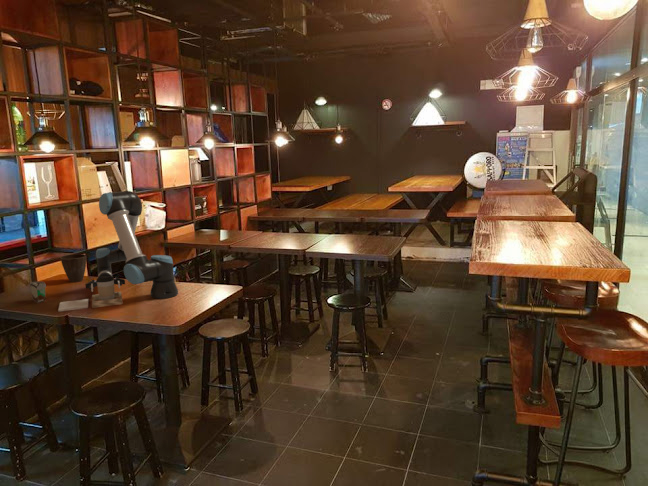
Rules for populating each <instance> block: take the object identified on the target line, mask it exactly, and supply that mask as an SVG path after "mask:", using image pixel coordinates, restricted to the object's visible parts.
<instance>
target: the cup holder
mask: <svg viewBox="0 0 648 486" xmlns="http://www.w3.org/2000/svg"><path fill="white" fill-rule="evenodd" d="M123 304H124V303H123V296H122V291H114V299H110V300H102V301H100V296H99V293H98V294H92V295H91V308H93V309H94V308H102V307H109V306H117V305H118V306H119V305H123Z"/></svg>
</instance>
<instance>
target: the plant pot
mask: <svg viewBox="0 0 648 486" xmlns="http://www.w3.org/2000/svg"><path fill="white" fill-rule="evenodd" d="M59 259H60V262H61V265H62V268H63V271H64V272H65V275H66V278H68V281H69V282H70V283H78V282H82V281H83V280H84V277H85V273H86V267H87V254H84V253H75V254H74V253H73V254H66V255H63V256H60V258H59Z"/></svg>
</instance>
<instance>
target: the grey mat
mask: <svg viewBox="0 0 648 486" xmlns="http://www.w3.org/2000/svg"><path fill="white" fill-rule="evenodd" d="M88 308H89V298H84V299H76V300H67V301H61V302H59V305H58V310H57V311H58V312H66V311H72V310H73V311H74V310H83V309H88Z"/></svg>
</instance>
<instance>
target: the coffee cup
mask: <svg viewBox="0 0 648 486" xmlns="http://www.w3.org/2000/svg"><path fill="white" fill-rule="evenodd" d="M114 279H115V278H114V276H113V275H112V276H111V275H110V274H106V275H102V276H99V277H98V276H97V278H96V279H95V281H96V282H97V286H96V287H97V292H98V294H99V296H100V300H99V301H102V300H110V299H115V298H114V292H115V284H114Z"/></svg>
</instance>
